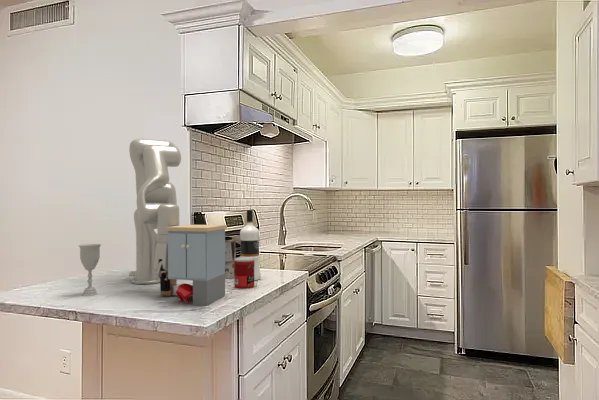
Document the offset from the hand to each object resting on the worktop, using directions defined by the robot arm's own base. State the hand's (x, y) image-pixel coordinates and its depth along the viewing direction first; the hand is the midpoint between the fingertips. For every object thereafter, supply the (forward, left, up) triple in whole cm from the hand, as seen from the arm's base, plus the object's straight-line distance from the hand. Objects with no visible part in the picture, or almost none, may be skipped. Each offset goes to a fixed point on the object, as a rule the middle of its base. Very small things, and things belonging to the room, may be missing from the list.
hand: (168, 289), depth 143 cm
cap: (+11, -5, -2) cm, 12 cm away
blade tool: (+6, 0, -2) cm, 6 cm away
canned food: (+21, +20, -2) cm, 29 cm away
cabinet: (+13, -3, -2) cm, 14 cm away
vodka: (+18, +34, -2) cm, 39 cm away
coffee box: (+6, +38, -2) cm, 39 cm away
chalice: (-29, -5, -2) cm, 29 cm away
